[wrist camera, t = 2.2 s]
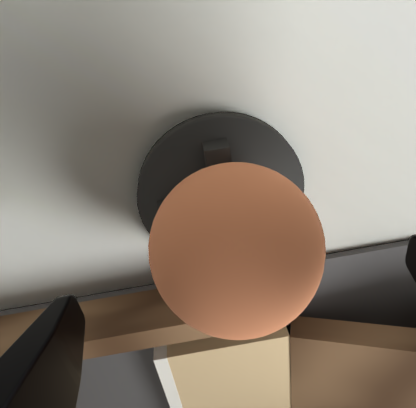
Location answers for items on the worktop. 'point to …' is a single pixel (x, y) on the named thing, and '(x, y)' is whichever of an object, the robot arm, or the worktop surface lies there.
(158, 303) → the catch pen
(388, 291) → the lane
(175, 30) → the worktop surface
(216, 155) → the tee
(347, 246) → the worktop surface
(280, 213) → the ball
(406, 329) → the ramp
